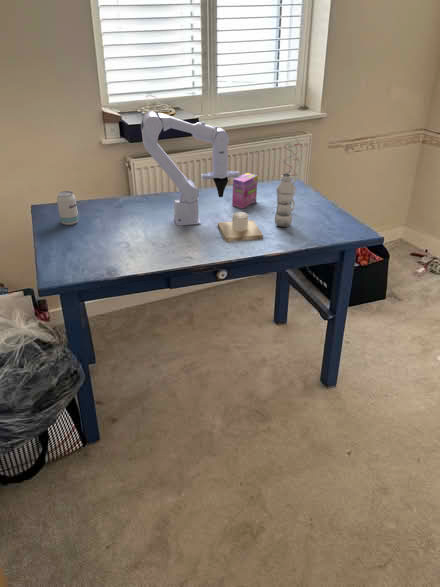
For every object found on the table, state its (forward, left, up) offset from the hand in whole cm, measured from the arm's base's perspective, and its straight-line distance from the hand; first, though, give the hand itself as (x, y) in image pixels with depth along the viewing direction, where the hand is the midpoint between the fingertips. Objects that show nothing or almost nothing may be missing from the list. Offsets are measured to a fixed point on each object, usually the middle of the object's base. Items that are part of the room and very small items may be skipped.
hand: (220, 196), depth 197 cm
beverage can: (-58, +7, -10) cm, 60 cm away
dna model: (+29, +2, -10) cm, 30 cm away
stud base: (+5, -14, -9) cm, 17 cm away
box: (+14, +14, -10) cm, 22 cm away
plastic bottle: (+23, -11, -10) cm, 27 cm away
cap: (+5, -14, -8) cm, 17 cm away
